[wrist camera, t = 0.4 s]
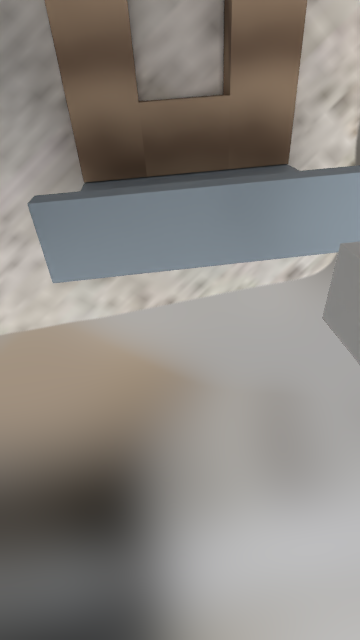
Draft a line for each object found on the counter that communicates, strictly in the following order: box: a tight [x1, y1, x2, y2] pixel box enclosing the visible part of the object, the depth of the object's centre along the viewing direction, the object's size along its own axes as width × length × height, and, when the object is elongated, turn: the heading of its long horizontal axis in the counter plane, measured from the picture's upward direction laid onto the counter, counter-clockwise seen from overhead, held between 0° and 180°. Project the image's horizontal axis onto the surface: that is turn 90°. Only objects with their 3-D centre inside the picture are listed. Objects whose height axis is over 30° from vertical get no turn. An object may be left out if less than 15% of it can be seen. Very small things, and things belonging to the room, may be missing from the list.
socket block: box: [45, 0, 307, 183], centre depth 26 cm, size 19×19×2 cm
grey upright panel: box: [28, 164, 360, 283], centre depth 26 cm, size 4×20×18 cm, turn 94°
